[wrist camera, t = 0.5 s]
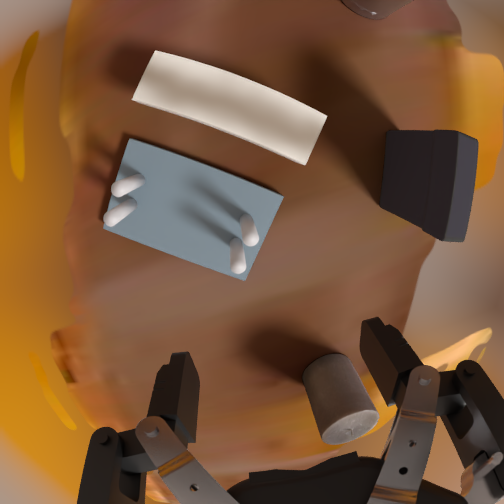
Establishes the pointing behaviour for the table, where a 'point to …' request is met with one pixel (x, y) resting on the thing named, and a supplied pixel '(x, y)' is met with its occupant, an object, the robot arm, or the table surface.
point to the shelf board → (230, 105)
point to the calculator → (430, 180)
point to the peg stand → (190, 209)
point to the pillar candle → (338, 399)
